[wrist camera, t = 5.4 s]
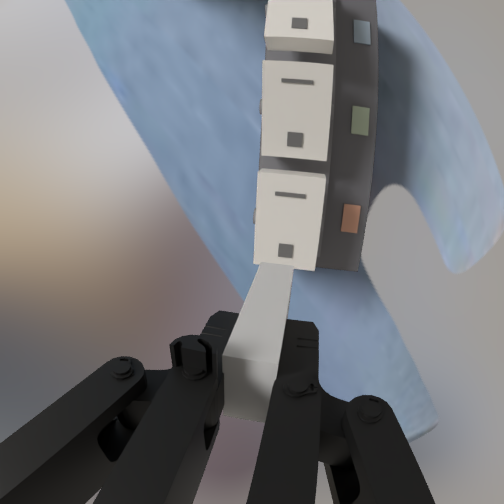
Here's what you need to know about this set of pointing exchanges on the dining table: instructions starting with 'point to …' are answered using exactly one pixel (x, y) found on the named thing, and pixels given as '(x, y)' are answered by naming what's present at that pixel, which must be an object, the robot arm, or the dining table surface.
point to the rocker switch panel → (344, 132)
